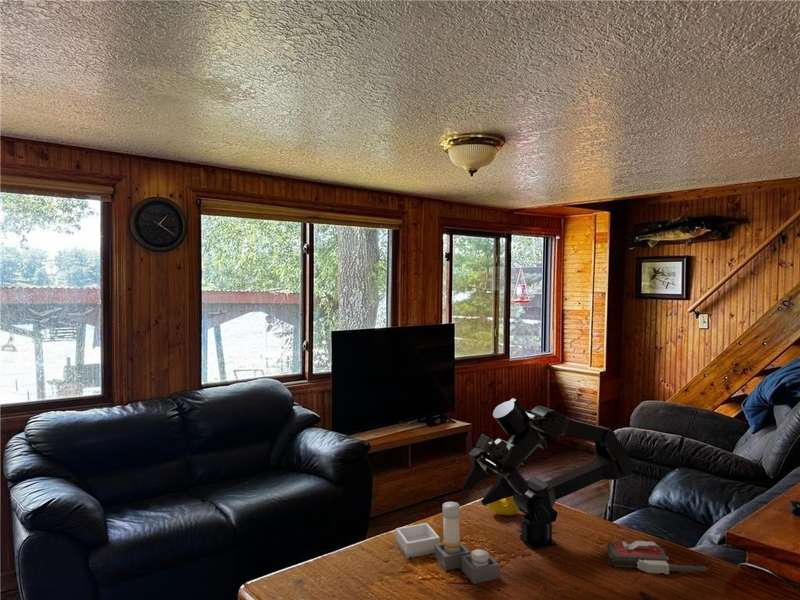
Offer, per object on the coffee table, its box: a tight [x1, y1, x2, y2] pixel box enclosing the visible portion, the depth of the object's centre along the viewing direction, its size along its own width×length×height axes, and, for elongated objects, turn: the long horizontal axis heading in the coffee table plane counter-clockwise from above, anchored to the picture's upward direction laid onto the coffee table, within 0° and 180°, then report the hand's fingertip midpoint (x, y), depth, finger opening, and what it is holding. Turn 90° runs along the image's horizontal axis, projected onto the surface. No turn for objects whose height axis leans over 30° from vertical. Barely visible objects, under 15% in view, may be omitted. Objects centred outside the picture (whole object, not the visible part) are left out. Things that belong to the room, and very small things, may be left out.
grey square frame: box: [434, 541, 471, 571], centre depth 125 cm, size 6×6×3 cm
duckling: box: [487, 496, 520, 516], centre depth 149 cm, size 11×5×10 cm, turn 88°
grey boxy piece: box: [460, 553, 501, 585], centre depth 120 cm, size 6×6×3 cm
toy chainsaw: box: [606, 540, 708, 575], centre depth 123 cm, size 9×4×20 cm
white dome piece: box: [470, 548, 490, 568], centre depth 120 cm, size 4×4×4 cm
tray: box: [395, 522, 441, 559], centre depth 132 cm, size 8×8×4 cm
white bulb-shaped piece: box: [442, 501, 461, 555], centre depth 125 cm, size 4×4×13 cm
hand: (472, 496), depth 127 cm, fingers open, 9 cm apart
